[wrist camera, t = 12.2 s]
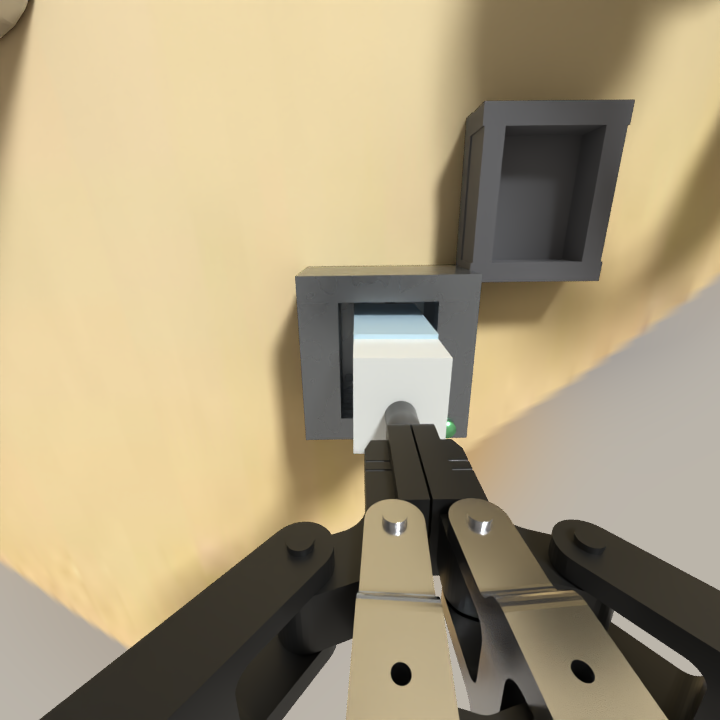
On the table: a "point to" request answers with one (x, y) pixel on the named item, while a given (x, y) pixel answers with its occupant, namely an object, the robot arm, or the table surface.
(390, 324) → the plug
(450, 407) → the port
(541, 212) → the box
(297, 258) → the table surface
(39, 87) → the table surface
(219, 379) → the table surface
